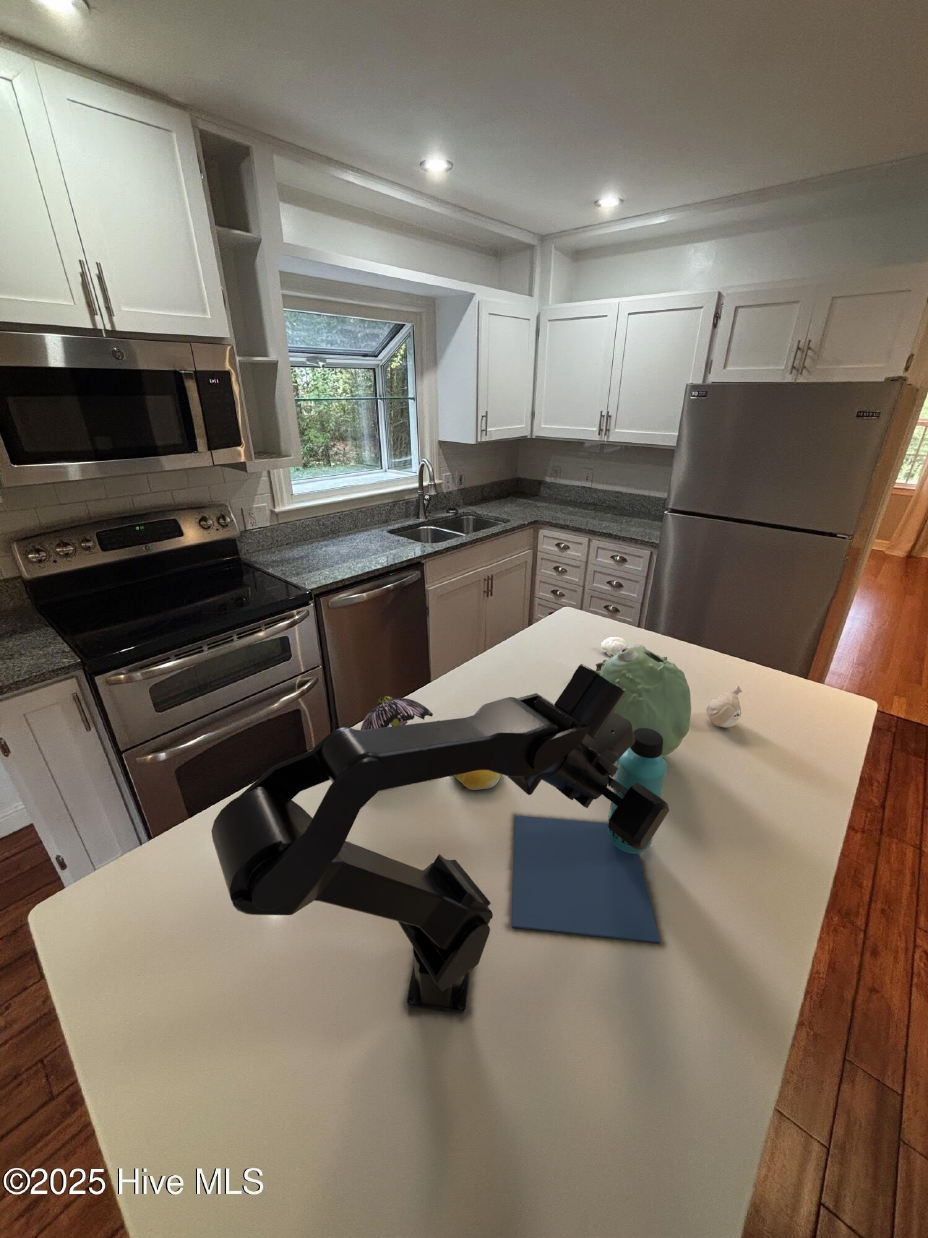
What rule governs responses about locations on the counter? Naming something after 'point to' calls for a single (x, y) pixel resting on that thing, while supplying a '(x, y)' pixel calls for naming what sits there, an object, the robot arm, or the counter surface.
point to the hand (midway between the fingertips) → (614, 795)
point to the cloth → (578, 881)
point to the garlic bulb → (725, 709)
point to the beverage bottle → (640, 773)
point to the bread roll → (479, 779)
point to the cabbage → (651, 693)
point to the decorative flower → (394, 713)
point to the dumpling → (613, 645)
